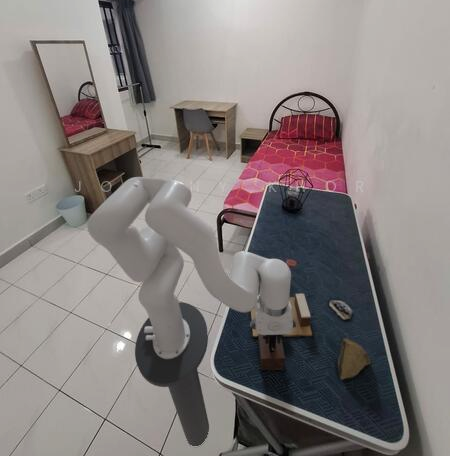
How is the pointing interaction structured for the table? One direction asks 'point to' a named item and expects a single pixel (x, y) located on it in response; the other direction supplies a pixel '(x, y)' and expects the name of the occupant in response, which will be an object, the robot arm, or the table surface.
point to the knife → (272, 342)
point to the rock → (351, 359)
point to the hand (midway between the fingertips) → (272, 337)
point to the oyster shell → (341, 309)
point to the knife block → (270, 355)
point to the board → (296, 330)
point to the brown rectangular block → (302, 310)
